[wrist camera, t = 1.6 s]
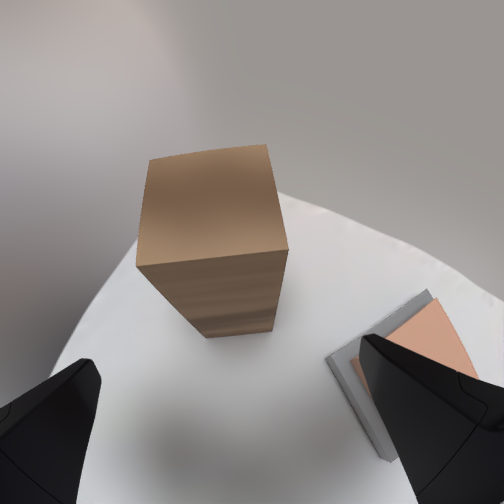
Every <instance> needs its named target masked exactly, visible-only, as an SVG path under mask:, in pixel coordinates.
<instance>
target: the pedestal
mask: <svg viewBox="0 0 504 504" xmlns="http://www.w3.org/2000/svg"><path fill="white" fill-rule="evenodd" d="M371 333H375V334H377V335H379V336H381V337H383V338H386V339H388V340H390V341H392V342H394V343H396V344H399V345H401V346H403V347H405V348H407V349H410V350H412V351H414V352H416V353H418V354H421V355H423V356H425V357H427V358H430V359H432V360H434V361H436V362H439V363H441V364H443V365H445V366H448V367H450V368H452V369H454V370H456V371H457V372H458V371H459V372H461V373H464V374H466V375H468V376H471V377H473V378H476V379H479V378H478V375H477V373H476V371H475V369H474V367H473V364H472V362H471V360H470V358H469V356H468V354H467V352H466V350H465V348H464V346H463V344H462V342H461V340H460V338H459V336H458V334H457V332H456V331H455V329H454V327H453V325H452V323H451V321H450V320H449V318H448V316H447V314H446V313H445V311H444V309H443V307H442V306H441V304H440V302H439V301H438V299H437V297H436V298H435V299H433V298H432V296H431V294H430V293H429V291H428V290H427V289H425V290H424V291H423V292H421V293H420V294H419V295H417V296H416V297H415V298H413V299H412V300H411V301H410V302H408V303H407V304H406V305H404V306H403V307H402V308H400V309H399V310H398V311H396V312H395V313H394V314H392V315H391V316H389V317H388V318H387V319H385V320H384V321H382V322H381V323H380V324H378V325H377V326H375V327H374V328H372V329H371V330H369V331H368V332H366V333H365V334H363V335H367V334H371ZM363 335H362V336H363ZM362 336H360V337H359V338H357V339H356V340H354V341H353V342H351V343H350V344H348V345H346V346H345V347H343V348H342V349H340V350H338V351H337V352H335V353H333V354H332V355H330V356H328V357H327V358H325V359H326V361H327V362H328V364H329V366H330V368H331V369H332V371H333V373H334V375H335V376H336V378H337V380H338V382H339V384H340V385H341V387H342V389H343V391H344V392H345V394H346V396H347V398H348V400H349V401H350V403H351V405H352V407H353V408H354V410H355V412H356V414H357V416H358V417H359V419H360V421H361V423H362V425H363V426H364V428H365V430H366V432H367V434H368V435H369V437H370V439H371V441H372V443H373V444H374V446H375V448H376V450H377V452H378V454H379V455H380V457H381V458H382V459H384V460H386V461H388V462H390V463H391V462H392V461H394V460H395V459H396V458H398V457H399V456H398V454H397V451H396V449H395V447H394V445H393V443H392V440H391V438H390V436H389V434H388V432H387V429H386V427H385V425H384V423H383V421H382V419H381V417H380V414H379V412H378V410H377V408H376V406H375V404H374V402H373V399H372V397H371V394H370V391H369V388H368V385H367V382H366V380H365V377H364V374H363V371H362V368H361V365H360V362H359V349H360V342H361V338H362Z"/></svg>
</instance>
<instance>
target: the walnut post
mask: <svg viewBox="0 0 504 504" xmlns="http://www.w3.org/2000/svg"><path fill="white" fill-rule="evenodd" d="M288 250H289V248H288V243H287V238H286V233H285V228H284V223H283V218H282V213H281V209H280V204H279V199H278V195H277V190H276V186H275V181H274V177H273V172H272V167H271V163H270V159H269V154H268V150H267V146H266V144H265V145H253V146H243V147H233V148H224V149H216V150H208V151H201V152H194V153H188V154H181V155H175V156H169V157H164V158H158V159H153V160H150V162H149V167H148V172H147V178H146V185H145V190H144V197H143V204H142V211H141V218H140V226H139V235H138V245H137V255H136V267H137V268H138V269H139V271H140V272H141V273H142V274H143V275H144V276H145V277H146V278H147V279H148V280H149V281H150V283H151V284H152V285H153V286H154V287H155V288H156V289H157V290H158V291H159V292H160V293H161V294H162V295H163V296H164V297H165V298H166V299H167V300H168V301H169V303H170V304H171V305H172V306H173V307H174V308H175V309H176V310H177V311H178V312H179V313H180V314H181V315H182V316H183V317H184V318H185V319H186V320H187V321H188V322H190V323H191V324H192V325H193V326H194V327H195V328H196V329H197V330H198V331H199V332H200V333H201V334H202V335H203V336H204V337H205V338H213V337H224V336H235V335H244V334H253V333H262V332H270V331H272V329H273V324H274V320H275V315H276V310H277V306H278V301H279V296H280V291H281V286H282V281H283V276H284V271H285V266H286V261H287V256H288Z"/></svg>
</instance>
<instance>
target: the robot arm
mask: <svg viewBox="0 0 504 504" xmlns="http://www.w3.org/2000/svg"><path fill="white" fill-rule="evenodd" d="M359 362H360V365H361V368H362V371H363V374H364V377H365V380H366V382H367V385H368V388H369V391H370V394H371V397H372V399H373V402H374V404H375V406H376V408H377V410H378V412H379V414H380V417H381V419H382V421H383V423H384V425H385V427H386V429H387V432H388V434H389V436H390V438H391V440H392V443H393V445H394V447H395V449H396V451H397V454H398V456H399V458H400V460H401V463H402V465H403V467H404V470H405V472H406V474H407V477H408V479H409V481H410V484H411V486H412V489H413V491H414V493H415V496H417V497H416V499H417V501H418V504H504V388H503V387H499V386H496V385H493V384H490V383H487V382H484V381H481V380H478V379H476V378H473V377H471V376H468V375H466V374H464V373H461V372H459V371H458V372H457V371H456V370H454V369H452V368H450V367H448V366H445V365H443V364H441V363H439V362H436V361H434V360H432V359H430V358H427V357H425V356H423V355H421V354H418V353H416V352H414V351H412V350H410V349H407V348H405V347H403V346H401V345H399V344H396V343H394V342H392V341H390V340H388V339H386V338H383V337H381V336H379V335H377V334H375V333H371V334H367V335H363V336H362V338H361V342H360V349H359ZM100 388H101V376H100V374H99V372H98V370H97V368H96V366H95V364H94V362H93V361H92V360H91V359H86V358H82V359H79V360H78V361H76V362H74V363H73V364H71V365H70V366H68V367H66V368H65V369H63V370H62V371H60V372H58V373H57V374H55V375H54V376H52V377H50V378H49V379H47V380H46V381H44V382H42V383H41V384H39V385H38V386H36V387H34V388H33V389H31V390H29V391H28V392H26V393H25V394H23V395H21V396H20V397H18V398H17V399H15V400H13V401H12V402H10V403H9V404H7V405H5V406H4V407H2V408H0V504H76V501H77V494H78V489H79V483H80V478H81V473H82V468H83V464H84V459H85V455H86V451H87V446H88V442H89V438H90V435H91V431H92V427H93V423H94V419H95V415H96V409H97V404H98V398H99V393H100Z"/></svg>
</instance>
